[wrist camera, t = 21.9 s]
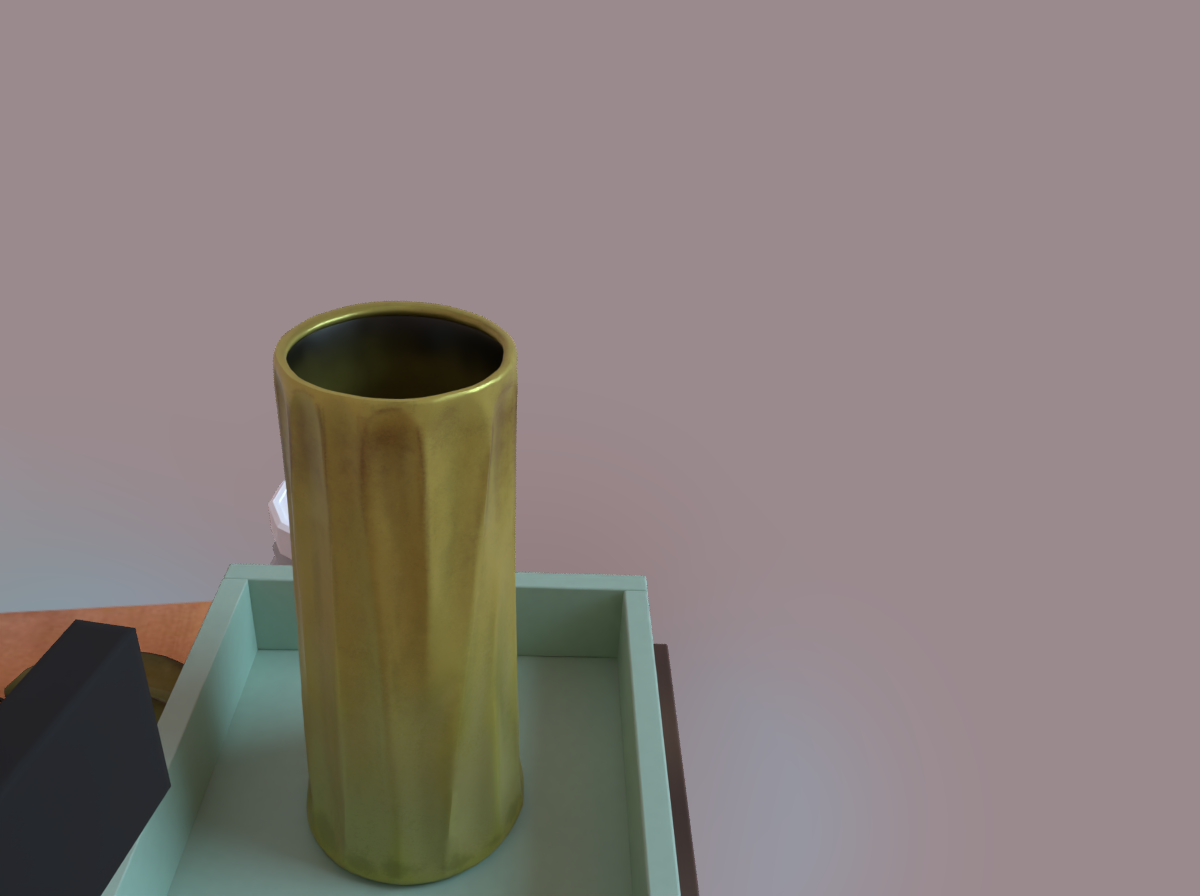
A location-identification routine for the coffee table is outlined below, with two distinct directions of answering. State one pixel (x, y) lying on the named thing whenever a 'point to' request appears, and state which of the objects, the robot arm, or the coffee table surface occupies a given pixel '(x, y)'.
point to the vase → (404, 582)
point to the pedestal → (675, 775)
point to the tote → (546, 749)
